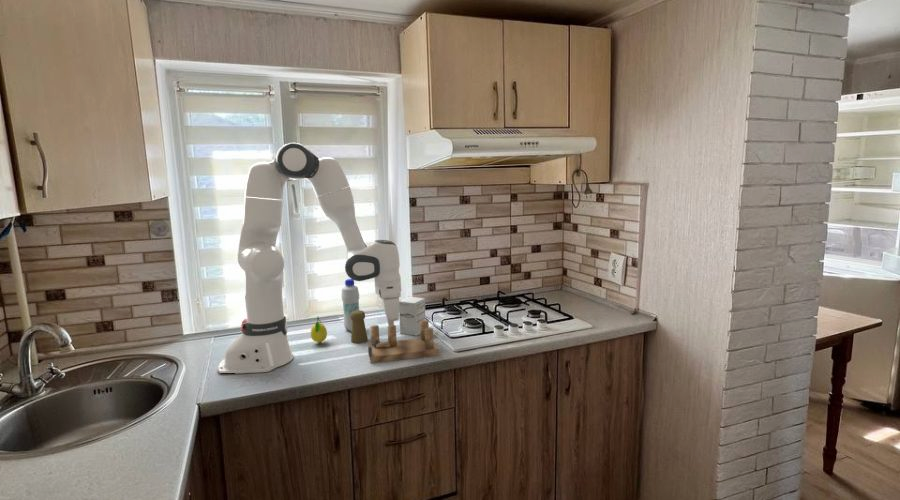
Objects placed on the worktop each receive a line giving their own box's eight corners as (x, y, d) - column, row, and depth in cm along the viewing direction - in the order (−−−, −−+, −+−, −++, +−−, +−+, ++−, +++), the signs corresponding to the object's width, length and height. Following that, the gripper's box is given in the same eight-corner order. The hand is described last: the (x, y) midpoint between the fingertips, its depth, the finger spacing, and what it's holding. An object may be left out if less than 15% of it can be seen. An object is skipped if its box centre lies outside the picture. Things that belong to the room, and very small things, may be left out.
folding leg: (374, 348, 155) (373, 329, 154) (374, 345, 158) (372, 327, 157) (397, 346, 157) (396, 327, 156) (396, 343, 160) (395, 324, 159)
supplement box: (399, 333, 176) (397, 300, 174) (410, 327, 182) (408, 295, 180) (416, 336, 172) (414, 302, 170) (426, 330, 179) (425, 297, 177)
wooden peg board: (369, 363, 149) (367, 337, 148) (367, 349, 161) (365, 325, 160) (438, 354, 154) (437, 329, 153) (431, 342, 166) (430, 319, 164)
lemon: (320, 338, 173) (318, 312, 172) (332, 341, 170) (330, 314, 169) (306, 344, 168) (304, 317, 166) (318, 347, 165) (316, 319, 163)
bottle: (363, 326, 185) (360, 277, 182) (358, 332, 179) (355, 281, 175) (347, 326, 186) (343, 277, 182) (341, 332, 179) (337, 281, 176)
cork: (364, 343, 167) (362, 313, 165) (348, 343, 168) (346, 313, 166) (370, 338, 172) (368, 308, 171) (354, 337, 174) (352, 308, 172)
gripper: (376, 281, 171) (379, 317, 173) (381, 295, 151) (384, 336, 154) (393, 279, 172) (396, 315, 175) (401, 293, 153) (404, 334, 155)
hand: (390, 325), depth 164 cm, fingers closed
